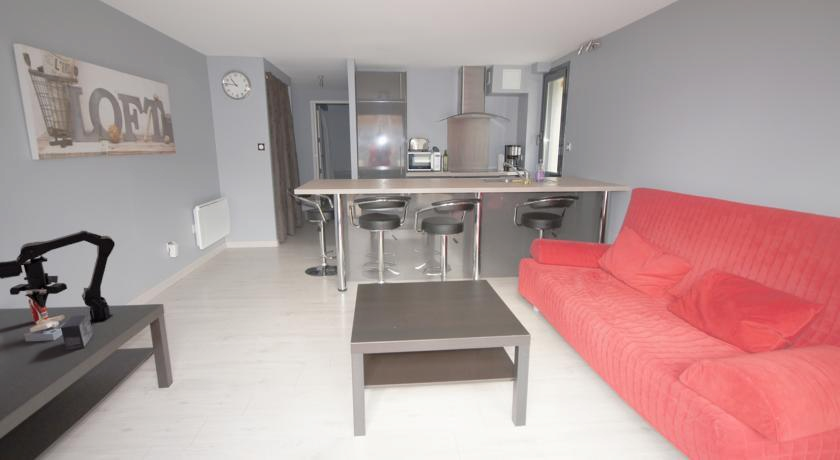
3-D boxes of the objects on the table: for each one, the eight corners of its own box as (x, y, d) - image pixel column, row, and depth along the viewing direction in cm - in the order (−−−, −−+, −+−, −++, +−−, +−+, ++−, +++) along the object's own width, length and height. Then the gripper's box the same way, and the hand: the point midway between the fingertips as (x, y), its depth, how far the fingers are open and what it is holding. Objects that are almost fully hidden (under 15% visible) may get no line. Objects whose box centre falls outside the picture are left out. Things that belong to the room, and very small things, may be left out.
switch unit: (73, 327, 181) (71, 319, 180) (54, 340, 171) (52, 331, 170) (46, 328, 180) (44, 320, 179) (25, 341, 170) (23, 332, 169)
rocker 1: (52, 325, 172) (50, 321, 172) (48, 328, 170) (46, 324, 169) (35, 329, 172) (34, 325, 172) (31, 332, 170) (29, 328, 169)
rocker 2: (58, 325, 176) (58, 321, 176) (54, 327, 174) (54, 324, 173) (40, 322, 175) (41, 318, 175) (36, 324, 173) (36, 321, 172)
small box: (75, 338, 172) (70, 315, 169) (94, 336, 174) (89, 313, 172) (64, 351, 162) (59, 327, 160) (84, 348, 165) (79, 324, 162)
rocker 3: (64, 317, 179) (63, 314, 179) (60, 320, 177) (58, 316, 176) (49, 322, 179) (47, 318, 178) (44, 324, 176) (42, 321, 176)
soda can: (31, 321, 187) (25, 297, 184) (45, 317, 191) (40, 293, 188) (36, 324, 184) (30, 299, 181) (51, 319, 189) (45, 295, 186)
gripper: (72, 266, 180) (79, 299, 184) (27, 267, 178) (35, 300, 182) (52, 275, 169) (60, 309, 173) (4, 276, 168) (13, 311, 171)
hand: (43, 307), depth 175 cm, fingers closed
